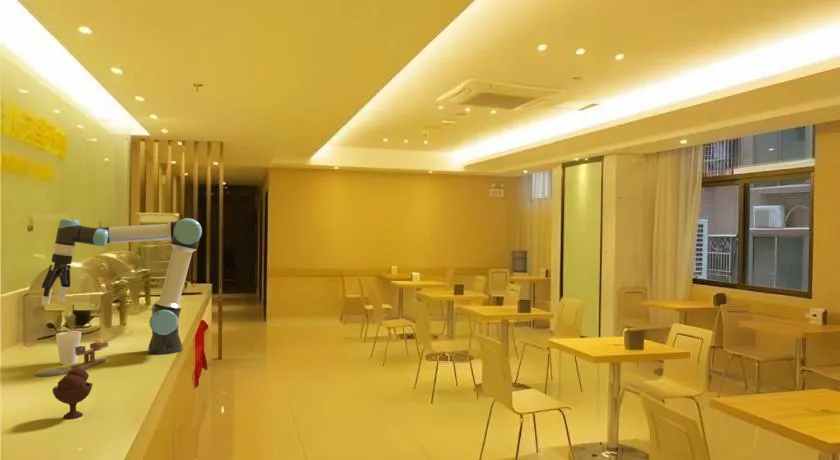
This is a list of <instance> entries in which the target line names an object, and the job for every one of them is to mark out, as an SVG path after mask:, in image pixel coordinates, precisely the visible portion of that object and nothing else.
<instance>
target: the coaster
mask: <svg viewBox="0 0 840 460" xmlns="http://www.w3.org/2000/svg"><path fill="white" fill-rule="evenodd" d="M70 370H71V369H70V368H69V367H62V366H60V367H50V368H43V369H39V370H36V371H35V372H34V375H35V376H36V377H54V376H55V377H56V376H61V375H65V374H68V372H69V371H70Z"/></svg>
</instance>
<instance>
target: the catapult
mask: <svg viewBox="0 0 840 460" xmlns="http://www.w3.org/2000/svg"><path fill="white" fill-rule="evenodd" d="M104 348H109V342H108V341H103V343H102V344H95V342H93V343H90V344H89V349H88V350H87V349H86V345H80V346H78V347H75V354H76V355H78V357H79V356H83V362H80V363H78V364H75V365H72V366H71V370H72V369H74V368H82V369H84V370H86V369H90V368H91V367H94V366H98V365H101V364H104V363H106V362H107V361H106V358H102V357H100V358H98V357H97V358H96V357H95V355H96V354H95V353H96V352H98V351H101V350H103V349H104Z"/></svg>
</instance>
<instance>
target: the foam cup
mask: <svg viewBox="0 0 840 460" xmlns="http://www.w3.org/2000/svg"><path fill="white" fill-rule="evenodd" d="M81 338H82V332H81V331H74V330H73V331H72V330H71V331H62V332H57V333H56V334H55V340H56V345H57V352H58V356H59V362H60V364H61V365H73V364H77V363H78V359H79V356H78V355H76V354H75V347H78V346H81V344H80V343H81ZM76 362H77V363H76Z"/></svg>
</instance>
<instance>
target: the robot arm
mask: <svg viewBox="0 0 840 460" xmlns="http://www.w3.org/2000/svg"><path fill="white" fill-rule="evenodd" d="M202 233H203V229H202V226H201V224H200V222H198V221H197V220H196V219H193V218H189V217H185V218H182V219H179V220H176V221H169V222H168V223H161V224H142V225H125V226H123V225H122V226H121V225H120V226H105V227H100V226H99V227H93V226H92V227H91V226H85V225H84V226H83V225H81V224H80V221H79V220H77V219H70V218H61V219H59V223H58V227H57V232H56V237H55V242H54V245H53V253H52V256H51V262H52V263H54V265H53V264H50V265H49V267H48V271H47V273H46V276H45V278H44V280H43V283H42V284H41V288H42V289H43V294H42V299H41V304H42V305H50V301H51V296H52V291H53V289H52V288H53V286H54V284H55V283H56V281H57V279H58V278H59V281H60V286H59V290H58V295H57V300H56V301H57V302H60V303H61V302H62V303H65V299H66V295H67V291H68V288H70V287H71V267H72V266H71V264H72V263H73V262H72V261H73V256H72V255H74V251H75V247H76V243H78V244H86V245H92V246H96V247H98V246H99V247H105V246H106V245H107V244H118V243H120V244H121V243H134V242H135V243H136V242H151V241H169V242H170V246H171V247H172V251H171V254H170V255H171V256H170V258H169V262H168V266H167V269H166V275H165V277H164V282H163V286H162V287H161V293H160V297H159V299H158V300H156V301H155V302H154V303H153V304H152V306H151V316H150V318H149V323H148V324H149V326H150V330H152V331H151V334H152V335H151V337H150V338H151V339H150V340H149V341H150V342H149V344H148V347H147V348H148V349H147V350H148V351H147V352H148V353H149V354H152V355H153V354H154V355H162V354H165V355H166V354H172V353H177V352H181V351H183V343H182V340H181V337H180V334H179V318H180V314H181V312H182V308H183V307H182V305H181V304H180V303H181V302H180V301H181V298H182V297H181V296H182V295H183V290H184V285H185V283H186V280H187V279H186V278H187V274H188V271H189V267H190V263H191V260H192V256H193V253H194V252H195V251H197V250H198V246H199V243H200V238H201V237H202Z"/></svg>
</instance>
